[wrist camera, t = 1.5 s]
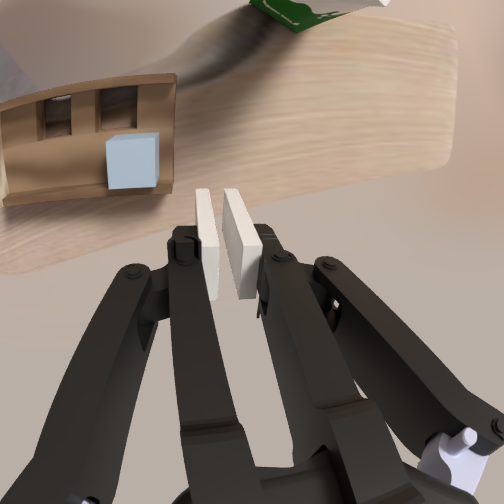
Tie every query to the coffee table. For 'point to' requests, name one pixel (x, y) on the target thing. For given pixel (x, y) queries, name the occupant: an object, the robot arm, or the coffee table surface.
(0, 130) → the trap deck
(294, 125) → the coffee table surface
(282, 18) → the milk carton
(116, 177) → the blue block
